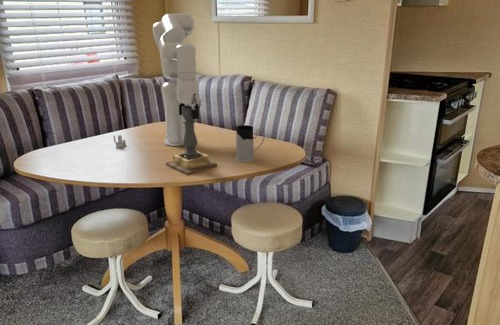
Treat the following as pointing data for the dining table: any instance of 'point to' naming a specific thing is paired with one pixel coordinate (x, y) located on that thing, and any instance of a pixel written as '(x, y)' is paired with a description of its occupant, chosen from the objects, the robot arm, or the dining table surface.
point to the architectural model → (120, 142)
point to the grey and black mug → (245, 143)
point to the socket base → (191, 163)
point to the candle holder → (189, 133)
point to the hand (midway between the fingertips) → (189, 116)
